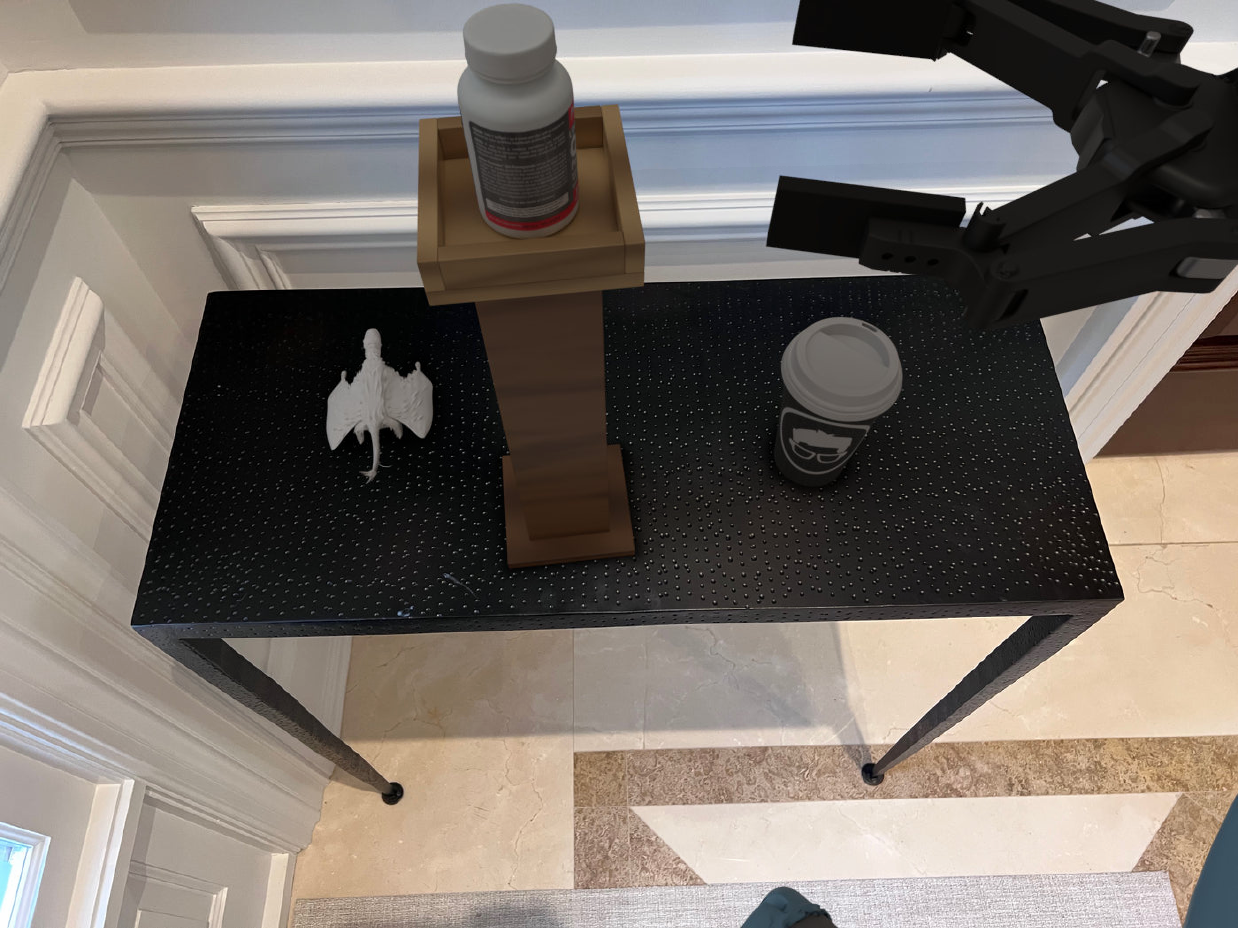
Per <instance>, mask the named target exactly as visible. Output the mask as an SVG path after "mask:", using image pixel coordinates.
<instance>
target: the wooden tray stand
mask: <svg viewBox="0 0 1238 928" xmlns="http://www.w3.org/2000/svg"><path fill="white" fill-rule="evenodd" d="M574 117H575V135H576V153H577V171H578V189H579V191H578V192H579V205H578V209H577V212H576V214H575V216H574V218H573V219H572V220H571V221H570V223H569V224H567V225H566V226H565V227H564V228H562V229H561V230H559V231H557V232H556V233H554V234H551V235H549V236H546V237H541V238H534V239H520V238H514V237H510V236H506V235H504V234H501V233H498V232H497V231H495V230H494V229H493V228H491V227H490V226H489V225H488V224H487V223H486V222H485V221H484V219H483V218H482V215H481V213H480V210H479V205H478V201H477V196H476V192H475V186H474V181H473V176H472V171H471V166H470V161H469V155H468V150H467V145H466V140H465V135H464V130H463V127H462V123H461V115H457V116H444V117H443V116H442V117H430V118H429V117H428V118H419V119H418V160H417V161H418V165H417V172H418V173H417V221H416V222H417V225H416V226H417V227H416V232H417V233H416V265H417V268H418V273H419V275H420V278H421V282H422V285H423V288H424V289H423V290H424V292H425V295H426V298H427V301H428V305H429V306H430V307H433V306H442V305H443V306H444V305H454V304H464V303H474V304H475V308H476V309H475V310H476V312H477V313H476V314H477V317H478V321H479V326H480V330H481V331H480V332H481V335H482V339H483V343H484V348H485V352H486V357H487V360H488V365H489V369H490V374H491V378H492V383H493V388H494V391H495V396H496V400H497V405H498V409H499V413H500V417H501V421H502V426H503V430H504V435H505V439H506V443H507V448H508V452H509V453H508V454H509V455H502V457H501V459H502V478H503V499H504V518H505V535H506V537H505V538H506V554H507V557H506V558H507V566H508V569H520V568H528V567H529V568H530V567H538V566H547V565H556V564H565V563H573V562H582V561H590V560H591V561H593V560H601V559H608V558H618V557H626V556H627V557H628V556H634V555H636V547H635V540H634V533H633V532H634V531H633V526H632V519H631V512H630V505H629V497H628V491H627V483H626V476H625V470H624V463H623V455H622V450H621V449H622V448H621V444H620V443H617V444H608V436H607V405H606V403H607V402H606V401H607V399H606V372H605V339H604V336H605V335H604V333H605V332H604V306H603V305H604V304H603V300H604V299H603V291H606V290H608V291H609V290H618V289H629V288H639V287H644V286H645V269H646V267H645V266H646V265H645V264H646V238H645V234H644V228H643V224H642V219H641V214H640V207H639V203H638V202H639V201H638V197H637V192H636V188H635V187H636V186H635V183H634V182H635V181H634V177H633V171H632V167H631V162H630V156H629V151H628V147H627V140H626V137H625V132H624V127H623V122H622V115H621V111H620V106H619V104H618V103H612V104H602V105H600V104H599V105H597V104H595V105H583V106H574Z"/></svg>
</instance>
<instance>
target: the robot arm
mask: <svg viewBox="0 0 1238 928" xmlns="http://www.w3.org/2000/svg"><path fill="white" fill-rule="evenodd" d="M1194 29H1195V28H1194V27H1193V26H1192V25H1191V24H1189V23H1187V22H1185V21H1182V20H1179V19H1173V18H1172V19H1171V18H1166V17H1165V18H1164V17H1160V16H1159V17H1158V16H1152V15H1146V14H1140V13H1135V12H1132V11H1129V10H1126V9H1123V8H1121V7H1117V6H1114V5H1112V4H1108V3H1105V2H1102V1H1099V0H799V3H798V8H797V14H796V18H795V25H794V30H793V35H792V41H791V42H792V43H791V46H799V47H809V48H816V49H817V48H818V49H828V50H835V51H844V52H845V51H846V52H857V53H867V54H875V55H882V56H883V55H885V56H893V57H902V58H903V57H905V58H913V59H923V60H931V61H932V62H934V63H935V62H937V61H938V60H941V59H942V58H944V57H946V56H947V55H948V54H952V55H954V56H955V57H957V58H959V59H961V60H963V61H965V62H966V63H968V64H970V65H971V66H973V67H975V68H977V69H979V70H980V71H982V72H984V73H986V74H988V75H989V76H991V77H993V78H994V79H996V80H998V81H1000V82H1002V83H1004V84H1005V85H1007V86H1009V87H1010V88H1012V89H1014V90H1016V91H1017V92H1019V93H1021V94H1023V95H1024V96H1026V97H1028V98H1029V99H1032V100H1034V101H1035V102H1037V103H1039V104H1041V105H1042V106H1044V107H1046V108H1047V109H1049V110H1050V111H1051V115H1052V121H1053V123H1054V124H1055V126H1056V127H1058V128H1059V129H1061V130H1063V131H1064V132H1066V133H1068V134H1069V136H1070V143H1071V145H1072V147H1073V149H1074V151H1075V152H1076V154H1077V155H1078V160H1077V164H1076V167H1075V172H1073V173H1071V174H1068V175H1066V176H1064V177H1061V178H1060V179H1058V180H1055V181H1052V182H1051V183H1049V184H1047V185H1043V186H1042V187H1040V188H1037V189H1035V190H1033V191H1031V192H1029V193H1027V194H1025V195H1022V196H1020V197H1017V198H1016V199H1013V200H1011V201H1009V202H1007V203H1004V204H1002V205H1000V206H998V207H996V208H993V209H992V208H990V207H989V206H988V205H986V207H984V210H983V212H982V213H981V210H982V208H983V206H984V205H985V203H984V201H980V202H979V203H978V204H976V206H975V208H974V211H973V213H972V215H971V217H970V219H969V221H968V223H967V225H966V226H961V225H962V222H963V220H964V218H965V216H966V215H967V201H966V197H962V196H954V195H946V194H938V193H930V192H921V191H914V190H913V191H912V190H904V189H896V188H889V187H888V188H887V187H882V186H880V187H879V186H871V185H864V184H856V183H847V182H841V181H840V182H839V181H831V180H824V179H814V178H807V177H806V178H805V177H798V176H789V175H783V174H780V175H779V176H778V181H777V185H776V189H775V190H776V191H775V195H774V201H773V206H772V210H771V215H770V220H769V225H768V230H767V235H766V243H765V247H766V248H773V249H780V250H781V249H783V250H789V251H796V252H804V253H812V254H819V255H827V256H834V257H843V258H850V259H851V258H852V259H858V265H860V266H862V267H865V268H866V269H870V270H872V271H880V272H889V273H893V274H894V273H896V274H899V273H901V274H903V275H910V276H918V277H924V278H931V279H938V280H943V282H944V283H945V285H947V287H949V288H950V289H952V290H954V291H957V292H959V295H960V296H961V298H962V300H963V302H964V304H965V309H964V311H963V312H962V313H963V314H962V318H963V321H964V323H965V324H966V325H967V326H968V327H970V328H971V329H973V330H975V331H978V332H979V331H980V332H990V331H993V330H994V331H995V330H998V329H1002V328H1007V327H1011V326H1015V325H1016V326H1017V325H1020V324H1023V323H1024V324H1025V323H1028V322H1033V321H1036V320H1042V319H1045V318H1049V317H1054V316H1058V315H1062V314H1067V313H1071V312H1075V311H1079V310H1080V311H1081V310H1084V309H1088V308H1092V307H1097V306H1101V305H1105V304H1109V303H1113V302H1118V301H1122V300H1126V299H1131V298H1136V297H1139V296H1144V295H1147V294H1152V293H1156V292H1158V293H1159V292H1161V293H1162V292H1163V293H1181V294H1200V295H1206V294H1211V293H1213V292H1214V291H1216V290H1217V289H1218V287H1219V286H1220V285H1221V284H1222V283H1223V282H1224V281H1225V279H1226V278H1227V277H1228V276H1229V275H1230V274H1231V273H1232V272H1233V270H1235V268H1236V267H1237V266H1238V66H1237V67H1235V68H1233V69H1231V70H1229V71H1227V72H1223V73H1220V74H1214V73H1211V72H1208V71H1204V70H1201V69H1197V68H1194V67H1192V66H1189V65H1187V64H1183V63H1182V60H1181V59H1182V57H1181V54H1182V52H1183V51H1184V48H1185V47H1186V45H1187V44H1188V42H1189V41H1190V40H1191V37H1192V36H1193V34H1194V32H1195V30H1194ZM1101 81H1103V82H1105V83H1103V84H1100V83H1101ZM1141 218H1145V219H1146V220H1148V221H1150V223H1146V224H1142V225H1137V226H1133V227H1128V228H1124V229H1119V230H1114V231H1110V232H1107V231H1109V230H1112V229H1114V228H1116V227H1118V226H1120V225H1122V224H1124V223H1126V222H1128V221H1130V220H1134V221H1136V220H1139V219H1141ZM1085 235H1089V236H1087V237H1083V236H1085ZM1081 237H1083V238H1081ZM739 928H839V927H838V926H837V925H836V924H835V923H834V922H833V918H832V916H831V914H830V913H829V911H827V909H826V908H821V905H820V904H819V903H813V902H811V901H810V900H809V899H807V897H806V896H804V894H802V893H801V892H799V891H798V890H797V889H795V888H792V887H789V886H786V885H785V886H783V885H782V886H777V887H775V888H773V889H771V890H770V891H769V892H768V893H767V894H766V895H765V897H764V898H762V900H761V902H760V903H759V905H758V906H757V907H756V908H755V909H754V910H753V911H752V912H751V913H750V914H749V915H748V917H747V918H746V919H745V920H744V922H743V923H742V924H741V926H740V927H739ZM1182 928H1238V793H1237V794H1236V796H1235V797H1234V798H1233V800H1232V801H1231V803H1230V805H1229V808H1228V809H1227V812H1226V815H1225V816H1224V818H1223V821H1222V823H1221V824H1220V826H1219V829H1218V831H1217V833H1216V835H1215V838H1214V840H1213V841H1212V844H1211V846H1210V848H1209V850H1208V853H1207V855H1206V858H1205V860H1204V863H1203V865H1202V868H1201V871H1200V874H1199V876H1198V878H1197V881H1196V884H1195V886H1194V889H1193V891H1192V894H1191V896H1190V900H1189V903H1188V907H1187V910H1186V913H1185V918H1184V922H1183V925H1182Z"/></svg>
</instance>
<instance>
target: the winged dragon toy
mask: <svg viewBox="0 0 1238 928" xmlns="http://www.w3.org/2000/svg"><path fill="white" fill-rule="evenodd" d="M381 338H382V337H381V334H380V332H379V331H378V329H376V328H369V329H367V331H366V332H365V335H364V339H363V340H362V343H363V349H365V350H364V352H365V353H364V355H365V358H366V359H365V360H363V363H361V366H362V367H361V369H359V371H358V372H356V376H354V377H353V381H352V382H351V383H348V381H347V380H346V378H347V370H343V371H342V372H341V379H340V381H339V383H338V384H337V385H336V387H335V388H334V389H333V390H332V392H331V393H330V394H329V396H328V399H327V414H326V415H327V416H326V435H327V441H328V443H329V447H330V449H331V451H333V450H335V449H336V448H338V447H339V445H340V444H341V443H342V441H343V440H344V438H345V437H346V436H347V435H348V433H349V432H350V431H351V430H352V429H353V428H354V430H353V434H355V435H356V438H357V440H358V442H359V445H362V443H364V441H365V431H368V432H369V433H370V436H371V440H372V449H373V463H372V469H370V470H368V471H361V472H360V473H361V475H363V474H364V476H368V477H369V479H368V480H367V482H366V483H365V485H366V484H368V483H370V482H372V481H373V479H374V478H375V477H376V475H377V470H378V467H379V465H380V463H381V462H380V457H381V456H380V455H381V452H382V451H381V446H380V445H381V443H380V436H379V435H380V430H382V429H386V428H390V430H393V432H394V435H396V438H398V439H399V440H401V438H402V437H403V435H404V430H403V425H405V426H406V427H407V428H408V429H410V430H411V431H412V432H413V433H414V434H415V435H416V436H417V437H419V438H420V439H425V438H426V436H427V435H428V433H429V431H430V429H431V426H432V422H433V417H434V416H433V415H434V405H433V389H434V386H433V384H432V382H431V380H429V378H428V377H427V376H426V375H425V374H424V372H422V371H421V363H420V361H416V362H415V364H414V365H415V368H416V369H413V371H412V372H411V373H410V372H408V373H407V377H404V376H401V375H400V373H399V372H398V371H395V369H394V368H393V367H392V366H390V367H389V366H388V365H387V364H386V361H384V359H383V357H381V352H382V351H381V350H382V349H381V348H382V346H383V343H382V339H381Z"/></svg>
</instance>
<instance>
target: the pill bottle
mask: <svg viewBox="0 0 1238 928" xmlns="http://www.w3.org/2000/svg"><path fill="white" fill-rule="evenodd" d="M462 38H463V46H464V58H465V61H466V64H467V66H466V67H465V69H464V70H463V71H462V73H461V75H460V77H459V79H458V82H457V87H456V94H457V95H456V96H457V105H458V108H459V114H460V116H461V123H462V127H463V130H464V135H465V140H466V145H467V150H468V155H469V161H470V166H471V171H472V176H473V181H474V186H475V192H476V196H477V201H478V205H479V210H480V213H481V215H482V218H483V219H484V221H485V222H486V223H487V224H488V225H489V226H490V227H491V228H493V229H494V230H495V231H497V232H498V233H501V234H504V235H506V236H510V237H514V238H520V239H534V238H541V237H546V236H549V235H551V234H554V233H556V232H557V231H559V230H561V229H562V228H564V227H565V226H566V225H567V224H569V223H570V221H571V220H572V219H573V218H574V216H575V214H576V212H577V209H578V205H579V192H578V191H579V189H578V171H577V153H576V135H575V117H574V107H575V100H574V99H575V98H574V95H575V94H574V85H573V81H572V77H571V75H570V74H569V71H568V70H567V68H566V67H565V66H564V65H563V64H562V63H561V62H560V61H559V60H558V59H557V54H558V45H557V41H556V40H557V39H556V32H555V25H554V22H553V19H552V18H551V17H550V15H549V14H548V13H547V12H545V10H542V9H540V8H538V7H536V6H533V5H529V4H524V3H515V2H513V3H512V2H511V3H500V4H495V5H490V6H487V7H484V8H482V9H480V10H478V11H476V12H475V13H473V14H472V15H471V16H470V17H469V18H468V19H467V20H466V21H465V23H464V25H463V28H462Z"/></svg>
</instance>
